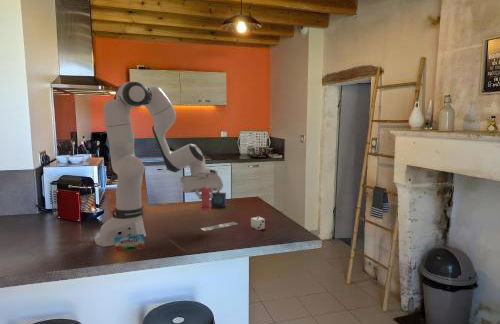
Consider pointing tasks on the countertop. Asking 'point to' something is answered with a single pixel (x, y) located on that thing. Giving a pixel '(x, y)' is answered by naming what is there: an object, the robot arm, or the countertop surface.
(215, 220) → the countertop surface
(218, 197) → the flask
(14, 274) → the countertop surface
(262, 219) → the die
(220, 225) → the game strip
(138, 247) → the colorful food package
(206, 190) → the pawn
